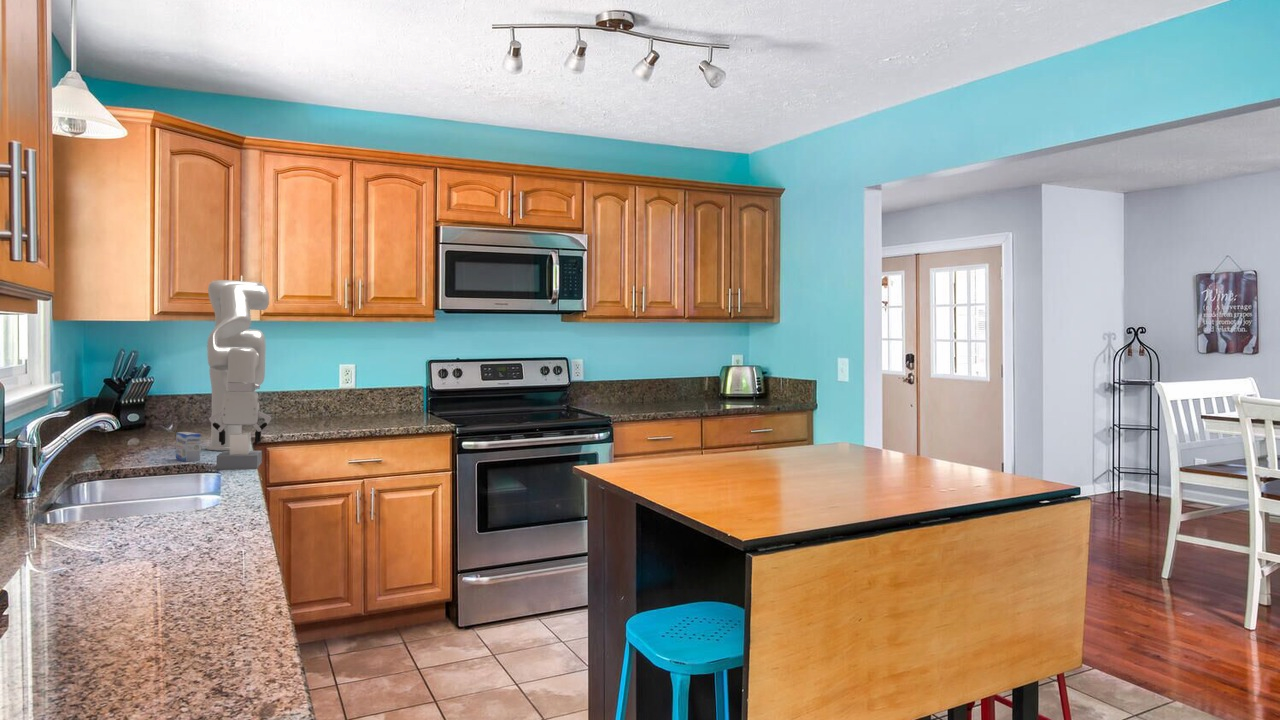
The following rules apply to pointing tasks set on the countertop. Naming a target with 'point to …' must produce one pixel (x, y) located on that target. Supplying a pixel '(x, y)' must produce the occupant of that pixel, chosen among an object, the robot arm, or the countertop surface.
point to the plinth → (239, 460)
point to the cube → (239, 443)
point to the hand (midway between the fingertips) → (240, 444)
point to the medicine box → (188, 446)
